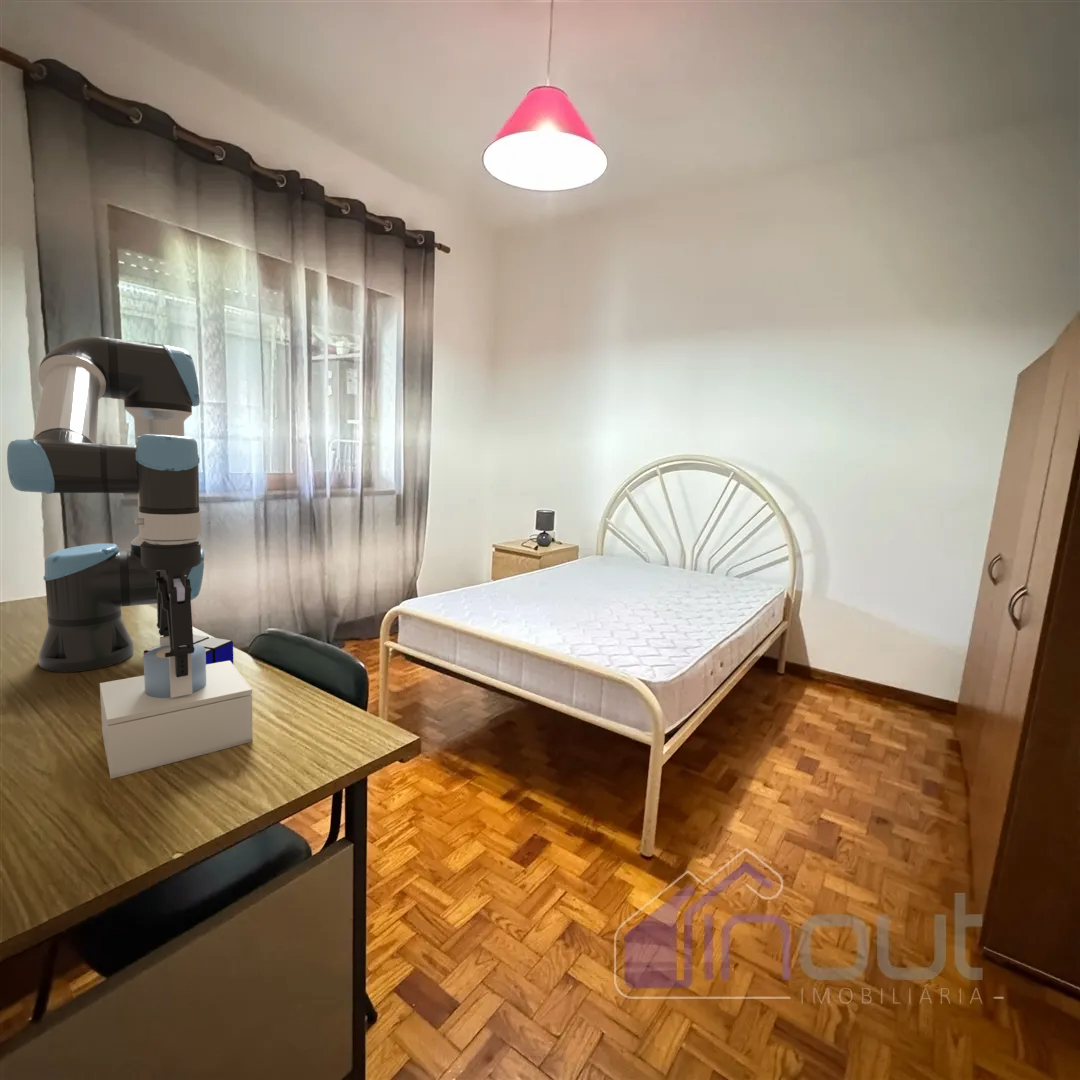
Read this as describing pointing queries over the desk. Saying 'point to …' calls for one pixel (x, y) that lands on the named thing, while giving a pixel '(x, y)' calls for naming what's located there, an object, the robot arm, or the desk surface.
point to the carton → (176, 735)
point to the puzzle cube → (212, 648)
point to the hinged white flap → (133, 703)
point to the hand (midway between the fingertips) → (176, 684)
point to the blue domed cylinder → (159, 671)
